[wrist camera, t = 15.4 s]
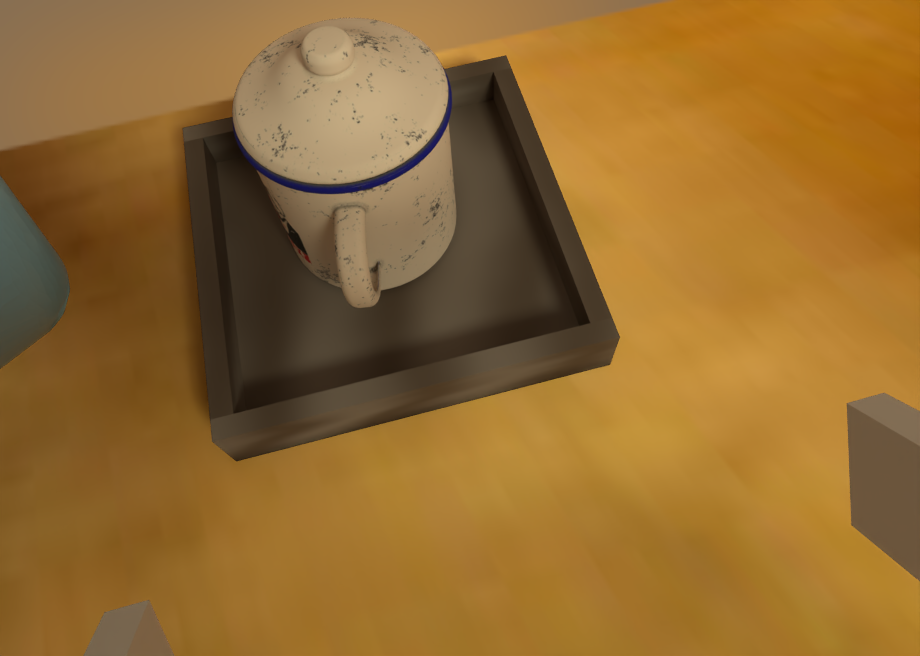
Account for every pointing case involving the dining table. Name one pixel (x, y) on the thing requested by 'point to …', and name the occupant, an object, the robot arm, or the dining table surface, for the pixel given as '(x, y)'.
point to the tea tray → (392, 290)
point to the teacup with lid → (353, 150)
